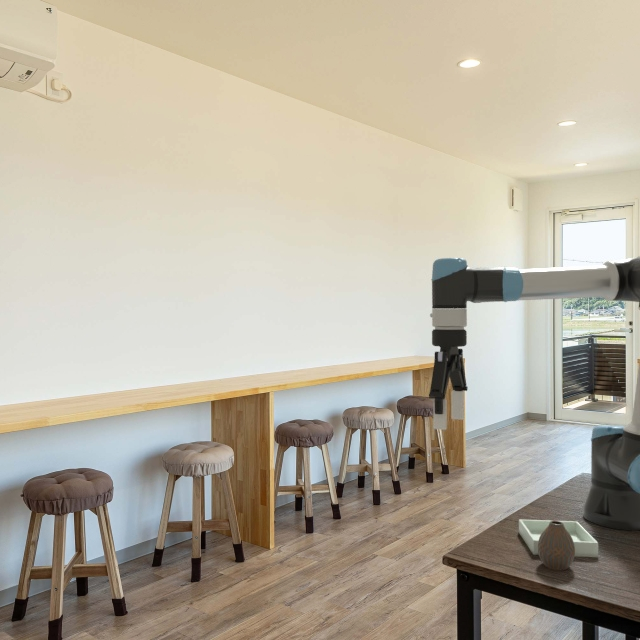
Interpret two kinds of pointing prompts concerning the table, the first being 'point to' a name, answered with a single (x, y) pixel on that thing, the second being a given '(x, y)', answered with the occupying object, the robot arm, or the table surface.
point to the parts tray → (580, 536)
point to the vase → (556, 547)
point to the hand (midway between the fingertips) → (449, 424)
